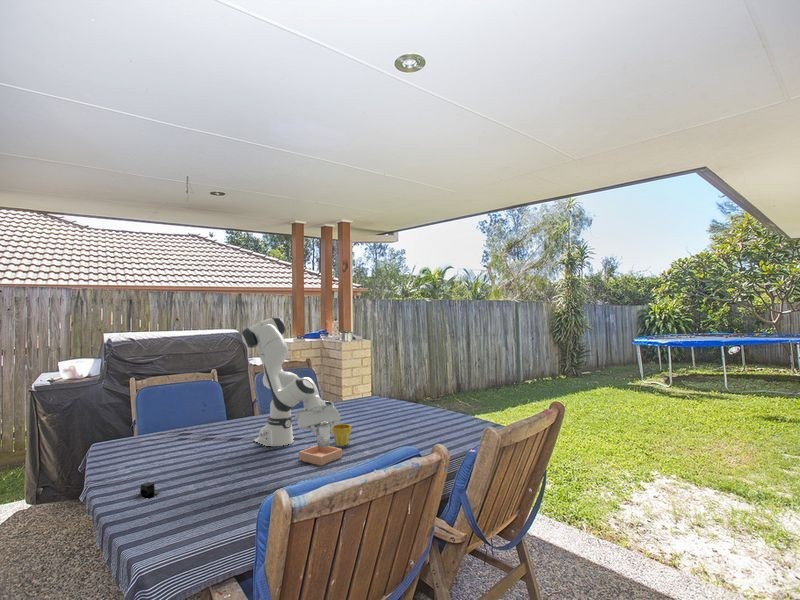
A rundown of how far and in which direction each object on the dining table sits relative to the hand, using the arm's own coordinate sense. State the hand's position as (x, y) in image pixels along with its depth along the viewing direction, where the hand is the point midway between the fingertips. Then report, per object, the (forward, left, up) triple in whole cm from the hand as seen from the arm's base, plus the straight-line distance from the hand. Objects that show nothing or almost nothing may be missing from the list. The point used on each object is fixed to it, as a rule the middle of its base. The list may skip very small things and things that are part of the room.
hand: (324, 433), depth 199 cm
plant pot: (-19, +34, -16) cm, 42 cm away
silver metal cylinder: (-1, 0, -5) cm, 5 cm away
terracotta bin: (-12, +10, -16) cm, 22 cm away
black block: (-38, -58, -17) cm, 72 cm away
